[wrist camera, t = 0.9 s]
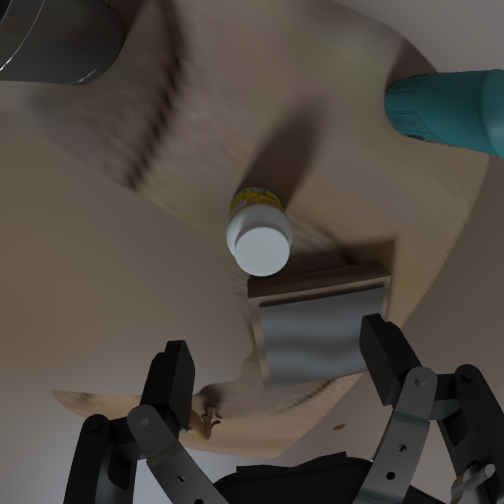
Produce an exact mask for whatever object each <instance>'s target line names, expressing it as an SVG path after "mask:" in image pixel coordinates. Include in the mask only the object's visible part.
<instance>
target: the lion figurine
mask: <svg viewBox="0 0 504 504" xmlns="http://www.w3.org/2000/svg"><path fill="white" fill-rule="evenodd" d="M206 408H207V410H208V418H207V417H206V416H201V418H200V416H199V415H198V414H197V413H196V412H195V411H193V410H192V400H191V408H190V415H189V423H188V432H190V433H191V435H192V436H193V438H194V440H196V441H198V442H202V443H204V442H206V441H208V439H209V438H210V435H211V429H212V427H213V426H214V425H215V424H219V423H221V422H220V421H219V420H217V421H214V422H213V423H212V424H211V419H212V412H213V406H211V405H209V406H207V407H206ZM201 419H202V420H203V422H202V421H201Z"/></svg>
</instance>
